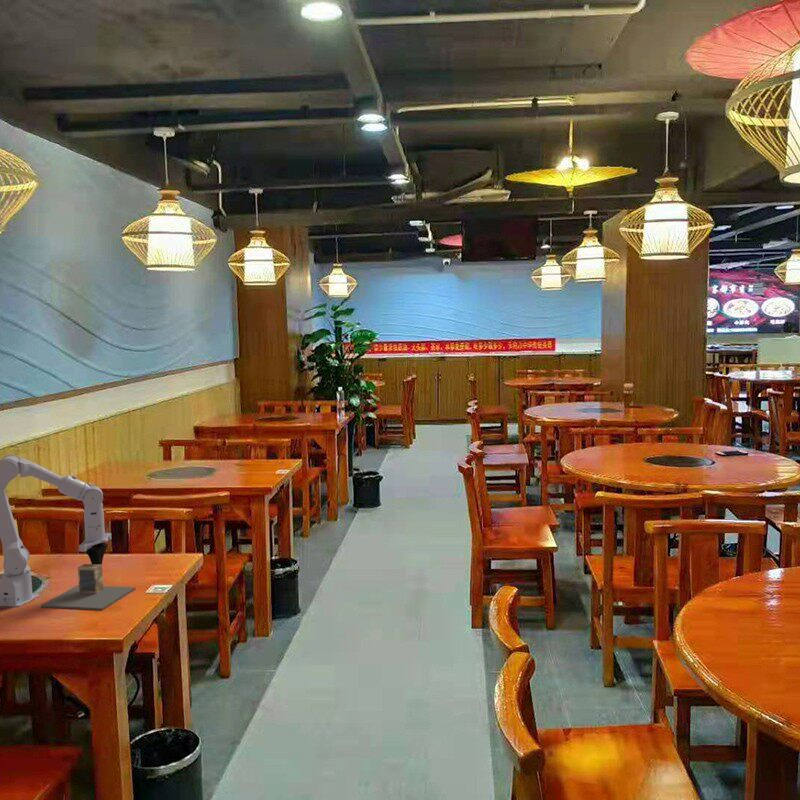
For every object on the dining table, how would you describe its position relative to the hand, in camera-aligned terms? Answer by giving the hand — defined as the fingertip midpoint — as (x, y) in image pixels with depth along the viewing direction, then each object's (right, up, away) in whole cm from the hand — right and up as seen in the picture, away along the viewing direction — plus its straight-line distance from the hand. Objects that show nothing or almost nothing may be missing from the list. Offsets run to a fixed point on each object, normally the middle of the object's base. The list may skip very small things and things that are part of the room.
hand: (97, 567), depth 236 cm
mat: (+1, -8, -7) cm, 11 cm away
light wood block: (0, -7, -3) cm, 7 cm away
